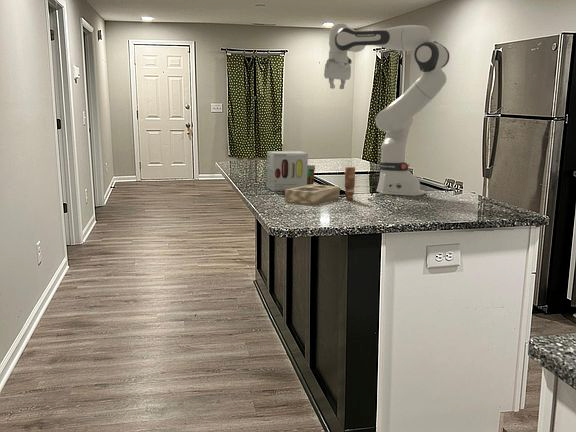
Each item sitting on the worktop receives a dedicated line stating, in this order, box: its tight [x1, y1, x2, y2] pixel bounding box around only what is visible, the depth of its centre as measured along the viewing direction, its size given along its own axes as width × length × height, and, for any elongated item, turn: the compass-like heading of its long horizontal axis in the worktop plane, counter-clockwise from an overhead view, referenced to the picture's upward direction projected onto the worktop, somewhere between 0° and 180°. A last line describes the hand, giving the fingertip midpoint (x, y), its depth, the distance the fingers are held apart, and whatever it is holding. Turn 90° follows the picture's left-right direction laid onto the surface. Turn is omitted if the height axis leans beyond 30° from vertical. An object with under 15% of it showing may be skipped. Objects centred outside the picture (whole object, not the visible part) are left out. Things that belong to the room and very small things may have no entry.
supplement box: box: [266, 150, 309, 192], centre depth 283 cm, size 17×13×18 cm
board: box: [284, 183, 341, 205], centre depth 253 cm, size 14×22×5 cm, turn 146°
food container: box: [307, 164, 316, 185], centre depth 304 cm, size 12×6×10 cm, turn 25°
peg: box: [344, 166, 356, 201], centre depth 252 cm, size 4×4×14 cm
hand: (337, 88), depth 286 cm, fingers open, 8 cm apart
